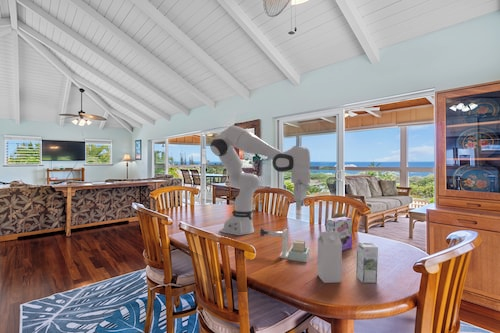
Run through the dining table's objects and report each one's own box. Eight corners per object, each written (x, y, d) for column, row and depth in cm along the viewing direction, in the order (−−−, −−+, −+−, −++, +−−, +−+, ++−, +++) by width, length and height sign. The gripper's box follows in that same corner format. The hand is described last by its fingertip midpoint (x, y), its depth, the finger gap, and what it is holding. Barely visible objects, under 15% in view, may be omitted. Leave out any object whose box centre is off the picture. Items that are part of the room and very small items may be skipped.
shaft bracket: (278, 258, 123) (279, 231, 123) (282, 252, 132) (283, 227, 131) (306, 262, 119) (307, 234, 119) (309, 255, 127) (309, 230, 127)
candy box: (333, 252, 131) (333, 221, 131) (325, 249, 136) (325, 218, 136) (352, 248, 137) (352, 218, 137) (343, 245, 143) (344, 216, 142)
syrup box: (369, 276, 104) (370, 241, 104) (377, 283, 98) (378, 246, 98) (356, 276, 104) (356, 241, 104) (362, 283, 98) (363, 246, 98)
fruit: (329, 238, 155) (329, 213, 155) (330, 233, 166) (331, 210, 165) (349, 240, 151) (349, 215, 151) (349, 235, 161) (349, 212, 161)
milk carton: (317, 275, 106) (317, 229, 105) (334, 274, 106) (334, 229, 106) (323, 283, 98) (324, 234, 98) (341, 282, 99) (342, 234, 99)
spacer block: (303, 260, 121) (303, 243, 121) (293, 258, 123) (293, 242, 123) (305, 256, 126) (305, 240, 126) (294, 255, 128) (295, 239, 127)
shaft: (260, 237, 129) (260, 229, 129) (262, 234, 133) (262, 227, 133) (286, 240, 124) (286, 231, 124) (287, 237, 128) (287, 229, 128)
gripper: (304, 181, 113) (303, 212, 113) (309, 178, 132) (309, 204, 132) (290, 180, 115) (289, 211, 115) (297, 177, 134) (297, 204, 135)
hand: (300, 207), depth 124 cm, fingers open, 8 cm apart
